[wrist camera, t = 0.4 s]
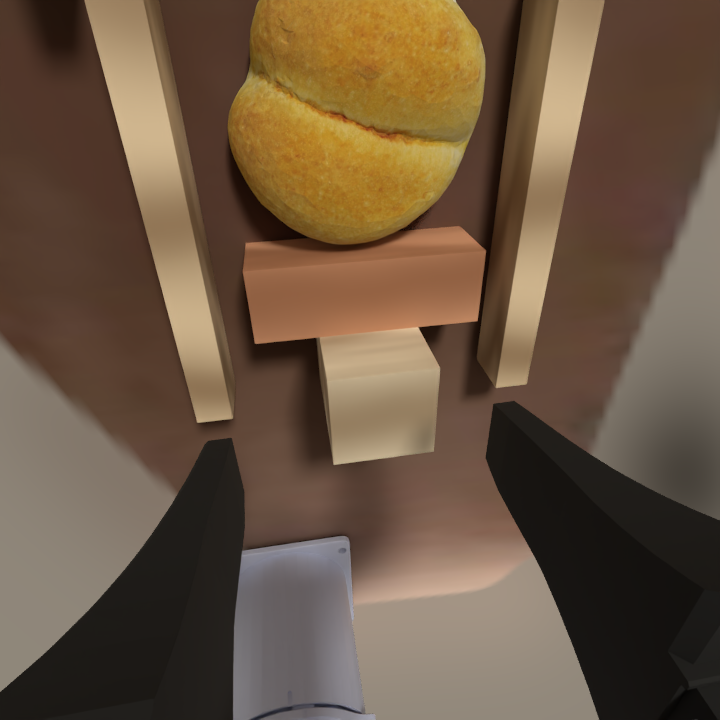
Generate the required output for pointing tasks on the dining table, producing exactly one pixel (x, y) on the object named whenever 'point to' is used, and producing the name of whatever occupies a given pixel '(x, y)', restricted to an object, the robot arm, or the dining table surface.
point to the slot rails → (513, 211)
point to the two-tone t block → (368, 326)
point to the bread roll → (355, 111)
